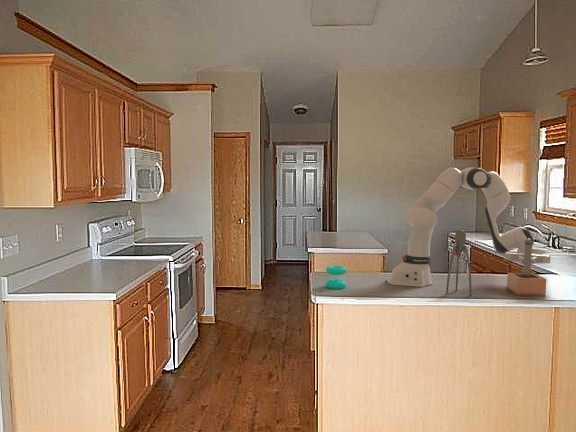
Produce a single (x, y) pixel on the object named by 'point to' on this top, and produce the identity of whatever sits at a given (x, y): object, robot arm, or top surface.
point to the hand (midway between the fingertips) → (527, 259)
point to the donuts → (336, 282)
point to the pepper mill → (527, 258)
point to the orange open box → (526, 284)
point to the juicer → (460, 242)
